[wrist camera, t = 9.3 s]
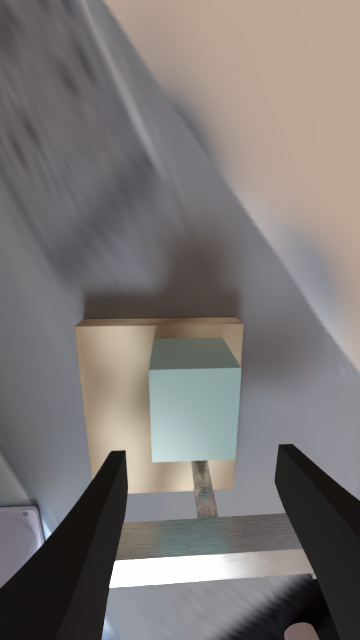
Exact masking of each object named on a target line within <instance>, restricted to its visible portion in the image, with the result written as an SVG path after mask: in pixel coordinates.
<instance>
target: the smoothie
mask: <svg viewBox="0 0 360 640" xmlns="http://www.w3.org/2000/svg"><path fill="white" fill-rule="evenodd" d="M284 636H285V640H319V638H318V636H317V634H316V632H315V630H314V628H313V626H312V625H311V624H308V623H296V624H293V625H291V626H290V627H288V628H287V629H286V631H285V633H284Z"/></svg>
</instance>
